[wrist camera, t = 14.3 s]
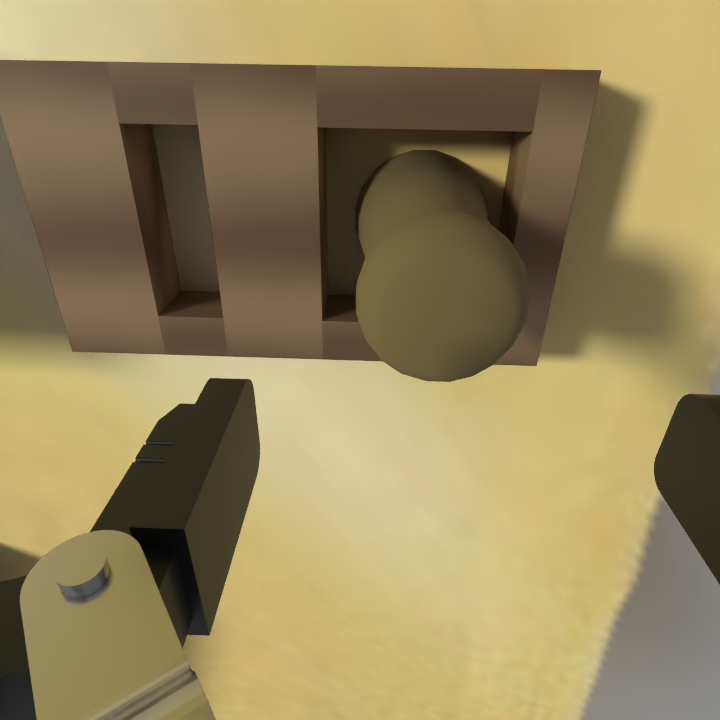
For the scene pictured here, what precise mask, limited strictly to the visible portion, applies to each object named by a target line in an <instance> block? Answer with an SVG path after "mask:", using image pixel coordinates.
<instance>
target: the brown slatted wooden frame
mask: <svg viewBox="0 0 720 720" xmlns="http://www.w3.org/2000/svg"><path fill="white" fill-rule="evenodd" d="M600 74H601V70H548V69H489V68H431V67H373V66H315V65H257V64H199V63H141V62H83V61H25V60H0V117H1V120H2V124H3V127H4V130H5V133H6V137H7V140H8V143H9V146H10V150H11V153H12V156H13V159H14V163H15V166H16V169H17V172H18V176H19V179H20V182H21V185H22V189H23V192H24V195H25V198H26V202H27V205H28V208H29V211H30V215H31V218H32V221H33V224H34V228H35V231H36V234H37V237H38V241H39V244H40V247H41V250H42V254H43V257H44V260H45V263H46V267H47V270H48V273H49V276H50V280H51V283H52V286H53V290H54V293H55V296H56V299H57V303H58V306H59V309H60V312H61V316H62V319H63V322H64V325H65V329H66V332H67V335H68V338H69V342H70V345H71V348H72V351H73V352H105V353H137V354H170V355H202V356H234V357H266V358H298V359H330V360H362V361H382V360H381V359H380V358H379V356H378V355H377V354H376V353H375V351H374V350H373V349H372V348H371V346H370V345H369V344H368V343H367V341H366V339H365V337H364V334H363V332H362V329H361V326H360V323H359V320H358V317H357V315H356V296H340V295H328V261H327V205H326V149H325V128H372V129H421V130H471V131H513V138H512V144H511V151H510V157H509V164H508V171H507V177H506V184H505V190H504V197H503V203H502V210H501V216H500V223H499V230H498V231H500V232H501V233H502V234H503V235H505V236H506V237H507V238H508V239H509V240H510V242H511V243H512V244H513V246H514V248H515V249H516V251H517V253H518V254H519V256H520V258H521V260H522V261H523V263H524V265H525V267H526V273H527V279H528V285H529V291H530V301H529V306H528V311H527V317H526V322H525V325H524V327H523V329H522V330H521V332H520V334H519V336H518V338H517V339H516V341H515V343H514V345H513V346H512V347H511V348H510V349H509V350H508V351H507V352H506V353H505V354H504V355H503V356H502V357H501V358H500V359H499V360H498V361H497V362H496V363H494V364H493V365H522V366H537V361H538V357H539V352H540V348H541V343H542V338H543V334H544V329H545V325H546V320H547V316H548V311H549V307H550V302H551V297H552V293H553V288H554V284H555V279H556V275H557V270H558V266H559V261H560V256H561V252H562V247H563V243H564V238H565V234H566V229H567V225H568V220H569V216H570V211H571V206H572V202H573V197H574V193H575V188H576V184H577V179H578V175H579V170H580V165H581V161H582V156H583V152H584V147H585V143H586V138H587V134H588V129H589V124H590V120H591V115H592V111H593V106H594V102H595V97H596V93H597V88H598V84H599V79H600ZM152 124H173V125H198V130H199V138H200V145H201V153H202V160H203V168H204V176H205V183H206V191H207V198H208V206H209V213H210V221H211V228H212V236H213V244H214V251H215V259H216V266H217V274H218V281H219V289H220V292H198V291H180V285H179V279H178V273H177V268H176V262H175V256H174V250H173V245H172V239H171V233H170V227H169V222H168V216H167V210H166V204H165V199H164V193H163V187H162V181H161V176H160V170H159V164H158V158H157V152H156V147H155V141H154V135H153V129H152Z"/></svg>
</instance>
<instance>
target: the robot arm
mask: <svg viewBox="0 0 720 720" xmlns="http://www.w3.org/2000/svg"><path fill="white" fill-rule="evenodd" d="M259 459H260V442H259V433H258V424H257V415H256V406H255V397H254V389H253V384H252V382H251V380H250V379H221V378H211V379H209V380H208V381H207V383H206V385H205V387H204V388H203V390H202V392H201V394H200V396H199V398H198V400H197V401H196V403H195V404H179V405H178V406H177V407H175V408H174V409H173V410H171V411H170V412H169V413H168V414H166V415H165V416H164V417H162V418H161V419H160V420H159V421H158V422H157V424H156V425H155V427H154V429H153V430H152V432H151V434H150V435H149V437H148V438H147V440H146V445H143V447H142V448H141V450H140V451H139V453H138V455H137V456H136V461H135V462H133V463H132V464H131V466H130V468H129V469H128V471H127V473H126V474H125V476H124V477H123V479H122V481H121V482H120V484H119V486H118V487H117V489H116V490H115V492H114V494H113V495H112V497H111V499H110V500H109V502H108V503H107V505H106V507H105V508H104V510H103V512H102V513H101V515H100V517H99V518H98V520H97V521H96V523H95V525H94V526H93V528H92V529H91V531H90V532H88V533H84V534H81V535H79V536H76V537H73V538H71V539H69V540H67V541H65V542H63V543H61V544H60V545H58V546H56V547H55V548H53V549H52V550H51V551H49V552H48V553H47V554H46V555H44V556H43V557H42V558H41V559H40V560H39V561H38V562H37V563H36V564H35V566H34V567H33V568H32V569H31V571H30V572H29V574H28V575H27V576H23V577H20V578H16V579H12V580H8V581H3V582H0V720H216V719H215V717H214V714H213V712H212V710H211V707H210V705H209V702H208V700H207V698H206V695H205V693H204V690H203V688H202V686H201V684H200V681H199V679H198V677H197V675H196V673H195V672H194V671H192V670H191V668H190V666H189V663H188V661H187V659H186V656H185V654H184V651H183V649H182V648H183V645H184V642H185V639H186V636H187V635H210V632H211V628H212V625H213V622H214V618H215V615H216V612H217V608H218V605H219V602H220V598H221V595H222V591H223V588H224V585H225V581H226V578H227V575H228V571H229V568H230V565H231V561H232V558H233V554H234V551H235V548H236V544H237V541H238V538H239V534H240V531H241V528H242V524H243V521H244V517H245V514H246V511H247V507H248V504H249V501H250V497H251V494H252V490H253V487H254V484H255V480H256V477H257V473H258V468H259ZM654 475H655V481H656V484H657V487H658V489H659V491H660V493H661V494H662V496H663V497H664V499H665V501H666V502H667V504H668V505H669V507H670V508H671V510H672V511H673V513H674V514H675V516H676V518H677V519H678V521H679V522H680V524H681V525H682V527H683V528H684V530H685V531H686V533H687V535H688V536H689V538H690V539H691V541H692V542H693V544H694V545H695V547H696V548H697V550H698V552H699V553H700V555H701V556H702V558H703V559H704V561H705V562H706V564H707V565H708V567H709V568H710V570H711V571H712V573H713V575H714V576H715V578H716V579H717V581H718V583H719V584H720V395H704V394H688V395H685V396H684V397H682V398H681V399H680V401H679V402H678V404H677V406H676V409H675V411H674V414H673V416H672V419H671V421H670V423H669V426H668V428H667V431H666V433H665V436H664V438H663V441H662V443H661V446H660V448H659V450H658V453H657V455H656V458H655V463H654Z"/></svg>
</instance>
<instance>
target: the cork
mask: <svg viewBox="0 0 720 720" xmlns="http://www.w3.org/2000/svg"><path fill="white" fill-rule="evenodd" d="M356 231H357V234H358V237H359V240H360V243H361V246H362V249H363V253H364V256H365V260H364V263H363V266H362V269H361V272H360V275H359V277H358V280H357V286H356V315H357V317H358V320H359V323H360V326H361V329H362V332H363V334H364V337H365V339H366V341H367V343H368V344H369V345H370V346H371V348H372V349H373V350H374V351H375V353H376V354H377V355H378V356H379V358H380V359H381V360H382V361H383V362H385V363H386V364H388V365H389V366H391V367H392V368H394V369H395V370H397V371H398V372H400V373H402V374H405V375H408V376H411V377H415V378H418V379H421V380H425V381H446V382H450V381H454V380H459V379H463V378H467V377H471V376H473V375H475V374H477V373H479V372H481V371H483V370H485V369H486V368H488V367H490V366H492V365H493V364H494V363H496V362H497V361H498V360H499V359H500V358H501V357H502V356H503V355H504V354H505V353H506V352H507V351H508V350H509V349H510V348H511V347H512V346H513V345H514V343H515V341H516V339H517V338H518V336H519V334H520V332H521V330H522V329H523V327H524V325H525V322H526V317H527V311H528V306H529V301H530V291H529V285H528V279H527V273H526V267H525V265H524V263H523V261H522V260H521V258H520V256H519V254H518V253H517V251H516V249H515V248H514V246H513V244H512V243H511V242H510V240H509V239H508V238H507V237H506V236H505V235H503V234H502V233H501V232H500V231H498V230H497V229H496V228H495V227H494V226H492V225H491V224H490V223H489V222H488V216H487V211H486V206H485V201H484V195H483V190H482V188H481V186H480V184H479V183H478V181H477V179H476V178H475V176H474V174H473V172H472V171H471V170H470V169H469V168H467V167H466V166H465V165H464V164H463V163H461V162H460V161H459V160H458V159H457V158H455V157H452V156H450V155H447V154H444V153H442V152H439V151H436V150H412V151H409V152H406V153H403V154H400V155H397V156H394V157H392V158H391V159H389V160H388V161H387V162H385V163H384V164H382V165H381V166H380V167H378V168H377V169H376V170H375V171H374V172H373V173H372V175H371V176H370V178H369V179H368V180H367V182H366V183H365V185H364V186H363V187H362V190H361V193H360V196H359V199H358V202H357V206H356Z"/></svg>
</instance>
